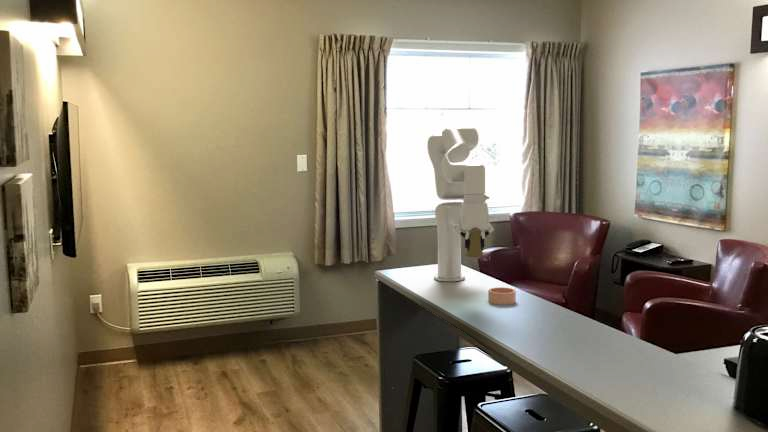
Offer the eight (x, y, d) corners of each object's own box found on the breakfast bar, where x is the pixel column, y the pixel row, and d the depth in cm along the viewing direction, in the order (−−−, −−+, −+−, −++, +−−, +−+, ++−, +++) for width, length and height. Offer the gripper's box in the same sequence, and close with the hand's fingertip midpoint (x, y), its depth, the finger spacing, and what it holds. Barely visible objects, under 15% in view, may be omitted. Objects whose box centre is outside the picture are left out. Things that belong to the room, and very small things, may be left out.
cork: (482, 254, 250) (482, 224, 249) (483, 257, 244) (483, 226, 243) (466, 254, 251) (465, 224, 249) (465, 257, 245) (465, 226, 243)
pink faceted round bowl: (486, 298, 250) (486, 287, 249) (511, 297, 251) (511, 287, 250) (492, 305, 241) (492, 293, 240) (518, 304, 241) (518, 292, 241)
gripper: (495, 197, 249) (495, 247, 251) (449, 198, 248) (449, 248, 250) (500, 199, 242) (499, 250, 244) (452, 200, 241) (452, 252, 243)
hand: (474, 249), depth 247 cm, fingers closed on cork, 4 cm apart
